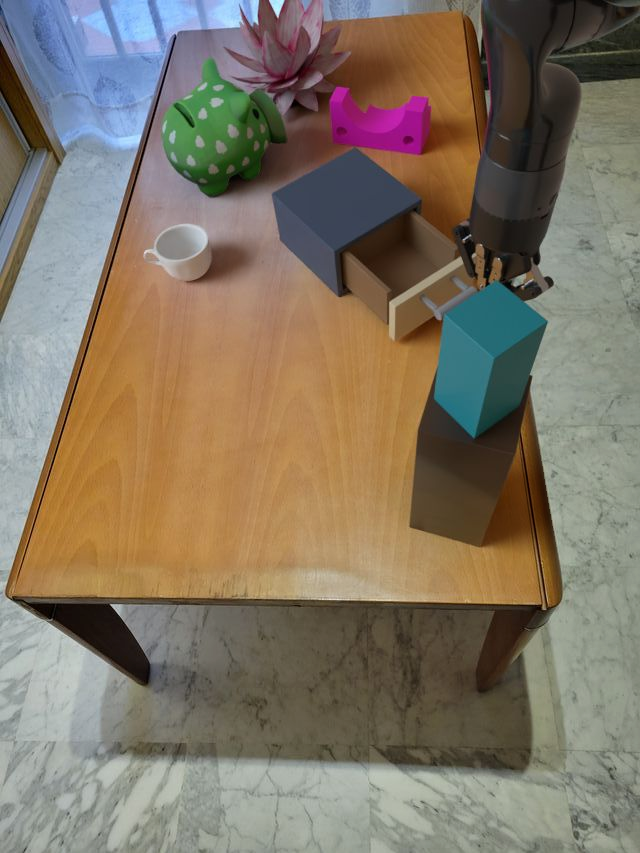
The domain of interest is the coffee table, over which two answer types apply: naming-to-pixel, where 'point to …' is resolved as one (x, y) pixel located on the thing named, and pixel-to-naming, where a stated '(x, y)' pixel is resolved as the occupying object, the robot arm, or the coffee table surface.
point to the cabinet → (338, 211)
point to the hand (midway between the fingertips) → (488, 311)
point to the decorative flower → (290, 52)
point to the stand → (461, 471)
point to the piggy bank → (220, 132)
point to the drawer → (407, 273)
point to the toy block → (380, 124)
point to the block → (486, 357)
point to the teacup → (182, 251)
